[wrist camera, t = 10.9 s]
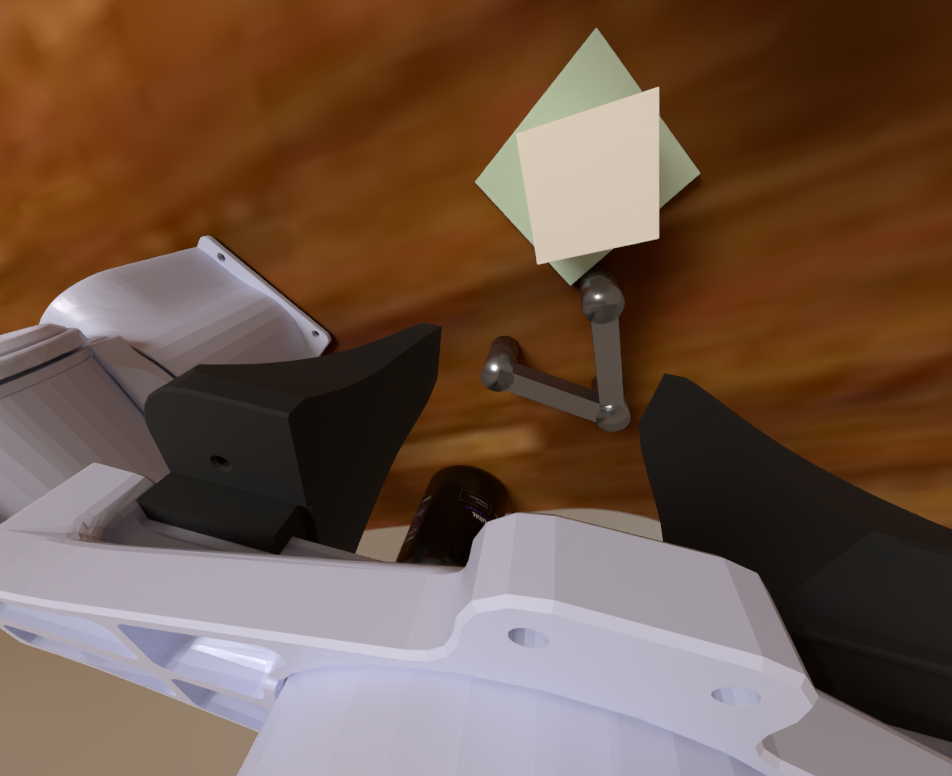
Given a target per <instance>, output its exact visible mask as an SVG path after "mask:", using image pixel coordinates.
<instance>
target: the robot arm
mask: <svg viewBox="0 0 952 776" xmlns="http://www.w3.org/2000/svg"><path fill="white" fill-rule="evenodd" d="M222 254H223V255H224V257H225V259H224V257H223V255H222ZM441 329H442V326H438V325H433V324H428V323H421V324H418V325H415V326H412V327H410V328H408V329H405V330H403V331H400V332H398V333H395V334H393V335H391V336H388V337H386V338H383V339H380V340H377V341H374V342H372V343H369V344H366V345H363V346H360V347H357V348H354V349H350V350H347V351H342V352H338V353H334V354H330V355H325V356H321V354H322V353H323V351H324V350H325V349H326V347H327V346H328V345H329V343H330V342H331V336H330V334H329V333H328V332H327V331H325V330H324V329H323V328H322V327H321V326H319V325H318V324H317V323H316V322H314V321H313V320H312V319H311V318H310V317H308V316H307V315H306V314H305V313H304V312H302V311H301V310H300V309H299V308H298V307H296V306H295V305H294V304H293V303H291V302H290V301H289V300H288V299H287V298H285V297H284V296H283V295H282V294H281V293H279V292H278V291H277V290H276V289H274V288H273V287H272V286H271V285H270V284H268V283H267V282H266V281H265V280H264V279H262V278H261V277H260V276H259V275H257V274H256V273H255V272H254V271H253V270H251V269H250V268H249V267H248V266H247V265H245V264H244V263H243V262H242V261H241V260H239V259H238V258H237V257H236V256H234V255H233V254H232V253H231V252H230V251H228V250H227V249H226V248H225V247H224V246H222V245H221V244H220V243H219V242H217V241H216V240H215V239H214V238H212V237H211V236H204V237H201V238H200V240H199V243H198V246H197V247H194V248H190V249H187V250H183V251H179V252H175V253H171V254H167V255H163V256H159V257H155V258H152V259H148V260H144V261H140V262H136V263H132V264H128V265H124V266H120V267H116V268H113V269H109V270H105V271H102V272H99V273H97V274H94V275H92V276H90V277H87V278H86V279H84V280H82V281H80V282H78V283H76V284H75V285H73V286H71V287H70V288H68V289H67V290H65V291H64V292H63V293H61V294H60V295H59V296H58V297H57V298H56V299H55V300H54V301H53V302H52V303H51V304H50V305H49V307H48V308H47V309H46V311H45V312H44V314H43V316H42V318H41V321H40V323H39V325H36V326H32V327H28V328H24V329H21V330H17V331H13V332H10V333H6V334H3V335H0V630H1V629H2V630H3V631H5V632H6V633H8V634H9V635H11V636H12V637H14V638H15V639H17V640H18V641H19V642H21V643H23V644H27V645H29V646H33V647H35V648H38V649H41V650H44V651H47V652H50V653H54V654H56V655H60V656H62V657H65V658H68V659H71V660H74V661H77V662H80V663H82V664H85V665H88V666H90V667H93V668H96V669H99V670H102V671H104V672H107V673H109V674H112V675H115V676H117V677H120V678H122V679H125V680H128V681H130V682H133V683H135V684H138V685H141V686H144V687H146V688H149V689H151V690H153V691H156V692H158V693H161V694H163V695H166V696H168V697H171V698H173V699H176V700H179V701H181V702H184V703H186V704H189V705H191V706H194V707H196V708H199V709H201V710H204V711H206V712H209V713H211V714H214V715H216V716H219V717H221V718H224V719H226V720H229V721H231V722H234V723H237V724H239V725H241V726H244V727H246V728H249V729H252V730H254V731H257V732H259V734H258V736H257V738H256V740H255V742H254V744H253V746H252V747H251V749H250V751H249V754H248V755H247V757H246V759H245V761H244V763H243V765H242V767H241V769H240V771H239V773H238V774H237V776H952V529H949V528H947V527H944V526H942V525H939V524H937V523H934V522H932V521H930V520H927V519H925V518H923V517H920V516H918V515H916V514H914V513H911V512H909V511H907V510H905V509H902V508H900V507H898V506H896V505H893V504H891V503H889V502H887V501H885V500H883V499H880V498H878V497H876V496H874V495H872V494H870V493H868V492H866V491H864V490H862V489H860V488H858V487H856V486H854V485H852V484H850V483H848V482H846V481H844V480H842V479H840V478H838V477H836V476H834V475H832V474H830V473H829V472H827V471H825V470H823V469H821V468H820V467H818V466H816V465H814V464H812V463H811V462H809V461H807V460H806V459H804V458H802V457H801V456H799V455H797V454H795V453H794V452H792V451H790V450H789V449H787V448H785V447H784V446H782V445H781V444H779V443H778V442H776V441H774V440H773V439H771V438H770V437H769V436H767V435H766V434H764V433H763V432H761V431H760V430H758V429H757V428H755V427H754V426H752V425H751V424H750V423H748V422H747V421H746V420H744V419H743V418H741V417H740V416H739V415H737V414H736V413H735V412H733V411H732V410H731V409H729V408H728V407H727V406H725V405H724V404H723V403H721V402H720V401H719V400H717V399H716V398H715V397H713V396H712V395H711V394H709V393H708V392H707V391H705V390H704V389H702V388H701V387H700V386H698V385H697V384H695V383H694V382H692V381H690V380H688V379H687V378H684V377H680V376H675V375H670V374H664V376H663V378H662V380H661V382H660V383H659V385H658V387H657V389H656V391H655V393H654V395H653V397H652V399H651V401H650V403H649V405H648V407H647V409H646V411H645V412H644V414H643V416H642V418H641V420H640V422H639V432H640V443H641V450H642V455H643V459H644V462H645V466H646V470H647V474H648V477H649V481H650V484H651V488H652V492H653V495H654V499H655V503H656V506H657V510H658V514H659V519H660V523H661V530H662V537H663V542H662V541H658V540H654V539H650V538H646V537H642V536H638V535H634V534H630V533H625V532H622V531H618V530H614V529H610V528H606V527H602V526H598V525H594V524H590V523H586V522H582V521H578V520H574V519H570V518H566V517H562V516H558V515H554V514H543V513H530V512H517V513H514V514H511V515H508V516H504V517H501V518H498V519H495V520H492V521H489V522H487V523H486V524H485V525H484V527H483V528H482V529H481V530H480V532H479V533H478V534H477V536H476V537H475V538H474V540H473V543H472V548H471V552H470V557H469V561H468V563H467V565H466V567H458V566H443V565H428V564H412V563H397V562H383V561H380V560H376V559H372V558H369V557H364V556H361V555H358V554H355V553H356V550H357V547H358V545H359V542H360V540H361V537H362V535H363V532H364V530H365V527H366V525H367V522H368V520H369V517H370V515H371V512H372V510H373V507H374V505H375V502H376V500H377V498H378V495H379V493H380V491H381V488H382V486H383V484H384V481H385V479H386V477H387V475H388V472H389V470H390V468H391V466H392V463H393V461H394V459H395V457H396V455H397V453H398V451H399V449H400V448H401V446H402V444H403V442H404V441H405V439H406V437H407V436H408V434H409V432H410V431H411V429H412V427H413V426H414V424H415V422H416V421H417V419H418V417H419V416H420V414H421V412H422V411H423V409H424V407H425V405H426V404H427V402H428V400H429V398H430V395H431V393H432V390H433V388H434V385H435V383H436V380H437V375H438V364H439V352H440V340H441ZM315 331H317V332H318V333H319V335H318V334H316V332H315Z"/></svg>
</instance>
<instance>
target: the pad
mask: <svg viewBox="0 0 952 776" xmlns="http://www.w3.org/2000/svg"><path fill="white" fill-rule="evenodd" d="M641 92H642V91H641V89H640V88H639V86H638V85H637V84H636V82H635V81H634V79H633V78H632V77H631V75H630V74H629V72H628V71H627V69H626V68H625V67H624V65H623V64H622V62H621V61H620V60H619V58H618V57H617V55H616V54H615V53H614V51H613V50H612V48H611V47H610V46H609V44H608V43H607V41H606V40H605V39H604V37H603V36H602V34H601V33H600V32H599V30H598V29H597V27H596V28H595V30H594V31H593V32H592V33H591V35H590V36H589V37H588V39H587V40H586V41H585V42H584V44H583V45H582V46H581V48H580V49H579V50H578V51H577V53H576V54H575V55H574V56H573V58H572V59H571V60H570V62H569V63H568V64H567V65H566V67H565V68H564V69H563V70H562V72H561V73H560V74H559V76H558V77H557V78H556V79H555V81H554V82H553V83H552V84H551V86H550V87H549V88H548V90H547V91H546V92H545V93H544V95H543V96H542V97H541V98H540V100H539V101H538V102H537V104H536V105H535V106H534V107H533V109H532V110H531V111H530V112H529V114H528V115H527V116H526V118H525V119H524V120H523V121H522V123H521V124H520V125H519V126H518V128H517V129H516V130H515V132H514V133H513V134H512V135H511V137H510V138H509V139H508V141H507V142H506V143H505V144H504V146H503V147H502V148H501V149H500V151H499V152H498V153H497V155H496V156H495V157H494V158H493V160H492V161H491V162H490V163H489V165H488V166H487V167H486V169H485V170H484V171H483V172H482V174H481V175H480V176H479V177H478V179H477V180H476V181H475V183H476V184H477V185H478V186H479V187H480V188H481V189H482V190H483V191H484V192H485V193H486V195H487V196H488V197H489V198H490V199H491V200H492V201H493V202H494V203H495V204H496V205H497V207H498V208H499V209H500V210H501V211H502V212H503V213H504V214H505V215H506V216H507V217H508V219H509V220H510V221H511V222H512V223H513V224H514V225H515V226H516V227H517V228H518V229H519V230H520V232H521V233H522V234H523V235H524V236H525V237H526V238H527V239H528V240H529V241H530V242H531V244H532V245H533V246H534V241H533V235H532V229H531V223H530V217H529V211H528V205H527V199H526V193H525V187H524V181H523V175H522V169H521V163H520V157H519V151H518V145H517V139H516V134H517V133H520V132H523V131H526V130H529V129H532V128H535V127H538V126H541V125H544V124H547V123H550V122H553V121H556V120H559V119H562V118H565V117H568V116H571V115H574V114H577V113H580V112H583V111H586V110H589V109H592V108H595V107H599V106H602V105H605V104H608V103H611V102H614V101H617V100H620V99H623V98H626V97H629V96H632V95H635V94H638V93H641ZM699 174H700V172H699V171H698V169H697V168H696V166H695V165H694V164H693V162H692V161H691V159H690V158H689V157H688V155H687V154H686V152H685V151H684V150H683V148H682V147H681V145H680V144H679V143H678V141H677V140H676V138H675V137H674V136H673V134H672V133H671V131H670V130H669V129H668V127H667V126H666V124H665V123H664V121H663V120H662V119H661V117H660V116H659V209H660V208H661V207H662V206H663V205H664V204H665V203H667V202H668V201H669V200H670V199H671V198H672V197H674V196H675V195H676V194H677V193H678V192H679V191H680V190H682V189H683V188H684V187H685V186H686V185H687V184H689V183H690V182H691V181H692V180H693V179H694V178H696V177H697V176H698V175H699ZM611 250H612V249H608V250H603V251H599V252H594V253H589V254H585V255H580V256H575V257H571V258H566V259H561V260H557V261H552V262H549V263H550V264H551V265H552V266H553V268H554V269H555V270H556V271H557V272H558V273H559V274H560V275H561V276H562V277H563V278H564V280H565V281H566V282H567V283H568V284H569V285H570V286H571V285H572V284H573V283H574V282H575V281H576V280H578V279H579V278H580V277H581V276H582V275H583V274H585V273H586V272H587V271H588V270H589V269H590V268H592V267H593V266H594V265H595V264H596V263H597V262H598V261H600V260H601V259H602V258H603V257H604V256H605V255H607V254H608V253H609V252H610V251H611Z"/></svg>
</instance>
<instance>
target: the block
mask: <svg viewBox="0 0 952 776" xmlns="http://www.w3.org/2000/svg"><path fill="white" fill-rule="evenodd" d="M516 139H517V145H518V151H519V157H520V163H521V169H522V175H523V181H524V187H525V193H526V199H527V205H528V211H529V217H530V223H531V229H532V235H533V241H534V247H535V253H536V259H537V265H538V264H542V263H547V262H552V261H557V260H561V259H566V258H571V257H575V256H580V255H585V254H589V253H594V252H599V251H603V250H608V249H613V248H617V247H622V246H627V245H631V244H636V243H641V242H645V241H650V240H655V239H659V87H656V88H653V89H650V90H647V91H644V92H641V93H638V94H635V95H632V96H629V97H626V98H623V99H620V100H617V101H614V102H611V103H608V104H605V105H602V106H599V107H595V108H592V109H589V110H586V111H583V112H580V113H577V114H574V115H571V116H568V117H565V118H562V119H559V120H556V121H553V122H550V123H547V124H544V125H541V126H538V127H535V128H532V129H529V130H526V131H523V132H520V133H517V134H516Z"/></svg>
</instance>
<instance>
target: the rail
mask: <svg viewBox="0 0 952 776" xmlns="http://www.w3.org/2000/svg"><path fill="white" fill-rule="evenodd" d="M580 291H581V298H582V305H583V311H584V314H585V316H586V317H587V319H589V320H590V321H591V331H592V340H593V350H594V359H595V369H596V377H595V378H594V379H593V380H592V383H591V387H592V389H589V388H586V387H583V386H580V385H577V384H575V383H572V382H569V381H566V380H563V379H560V378H557V377H555V376H552V375H549V374H546V373H543V372H540V371H537V370H535V369H532V368H529V367H526V366H523V365H520V364H518V363H517V362H518V357H519V352H520V347H519V344H518V342H517V341H516V340H515V339H513V338H512V337H509V336H501V337H498V338H496V339H495V340H494V341H493V343H492V346H491V348H490V351H489V354H488V357H487V359H486V362H485V365H484V368H483V370H482V373H481V379H482V382H483V384H484V385H485V386H486V387H487V388H488V389H490V390H492V391H497V392H501V391H505V390H506V391H508V392H511V393H514V394H517V395H520V396H523V397H526V398H528V399H531V400H534V401H537V402H540V403H543V404H545V405H548V406H551V407H554V408H557V409H560V410H562V411H565V412H568V413H571V414H574V415H577V416H580V417H582V418H585V419H588V420H591V421H594V422H596V423H597V425H598V426H599V427H600V428H602V429H603V430H606V431H619V430H622V429H624V428H625V427H626V426H627V425H628V424H629V423H630V420H631V416H630V412H629V408H628V404H627V400H626V397H625V393H624V389H623V382H622V366H621V350H620V334H619V319H618V317H619V316H620V315H621V313H622V311H623V309H624V305H625V301H624V297H623V295H622V292H621V290H620V288H619V285H618V283H617V281H616V278H615V276H614V274H613V272H612V271H611V270H610V269H609V268H607V267H605V266H594V267H592V268H590V269H589V270H588V271H587V272H586V273H585V274H583V275H582V277H581V280H580Z"/></svg>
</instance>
